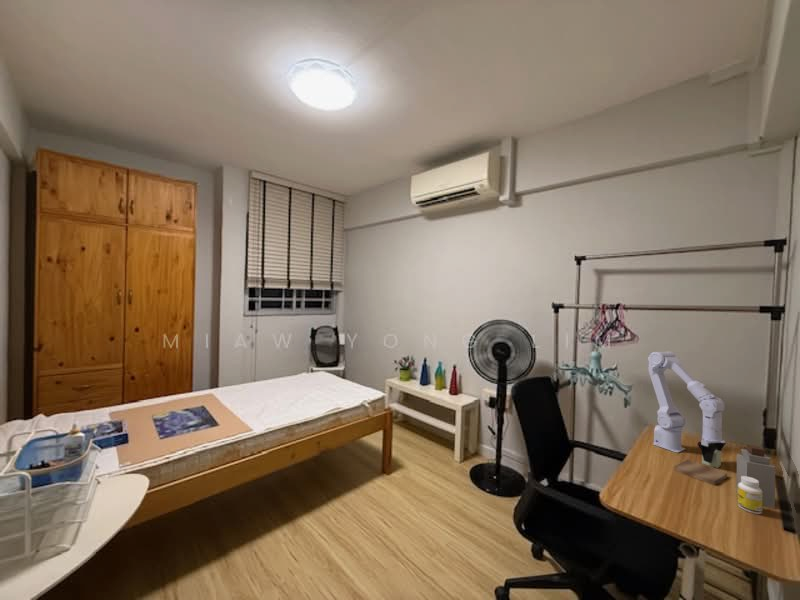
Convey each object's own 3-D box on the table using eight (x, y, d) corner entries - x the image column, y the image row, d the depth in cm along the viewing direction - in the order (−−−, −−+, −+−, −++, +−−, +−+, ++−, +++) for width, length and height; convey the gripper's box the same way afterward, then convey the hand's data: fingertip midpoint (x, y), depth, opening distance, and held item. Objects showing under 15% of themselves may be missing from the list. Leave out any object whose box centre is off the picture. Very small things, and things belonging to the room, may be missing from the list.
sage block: (702, 463, 135) (702, 448, 135) (706, 460, 137) (706, 446, 137) (716, 468, 131) (716, 453, 131) (720, 465, 133) (721, 451, 133)
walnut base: (674, 470, 129) (674, 466, 129) (687, 463, 135) (687, 459, 135) (714, 485, 118) (714, 481, 118) (727, 477, 124) (727, 473, 124)
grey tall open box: (736, 491, 115) (737, 441, 115) (762, 497, 112) (763, 445, 112) (746, 502, 108) (747, 449, 108) (774, 508, 105) (775, 453, 106)
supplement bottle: (736, 501, 109) (736, 472, 109) (760, 508, 105) (760, 478, 105) (739, 509, 104) (739, 479, 104) (764, 517, 101) (764, 485, 101)
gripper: (718, 433, 127) (717, 468, 127) (731, 427, 134) (731, 459, 134) (695, 427, 133) (694, 460, 133) (709, 421, 140) (708, 452, 140)
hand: (711, 459), depth 134 cm, fingers open, 7 cm apart
